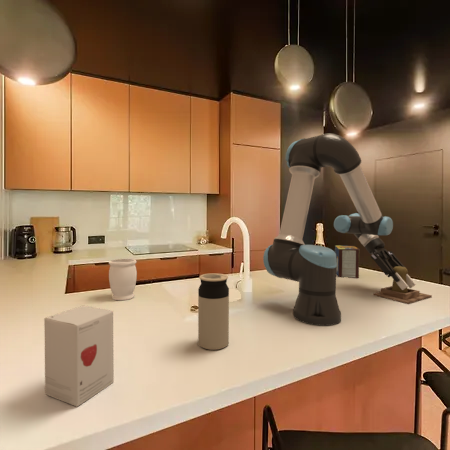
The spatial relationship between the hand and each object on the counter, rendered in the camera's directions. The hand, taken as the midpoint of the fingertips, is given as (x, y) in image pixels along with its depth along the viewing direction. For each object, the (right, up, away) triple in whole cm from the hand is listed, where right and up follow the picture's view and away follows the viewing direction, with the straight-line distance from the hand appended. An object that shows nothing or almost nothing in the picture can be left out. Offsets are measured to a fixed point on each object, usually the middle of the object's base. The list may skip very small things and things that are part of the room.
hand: (409, 287), depth 120 cm
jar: (-115, -5, 0) cm, 115 cm away
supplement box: (-102, -8, -61) cm, 119 cm away
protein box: (-7, -3, +46) cm, 47 cm away
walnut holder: (0, -5, +4) cm, 6 cm away
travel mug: (-77, -7, -41) cm, 87 cm away
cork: (-2, -3, +3) cm, 5 cm away
